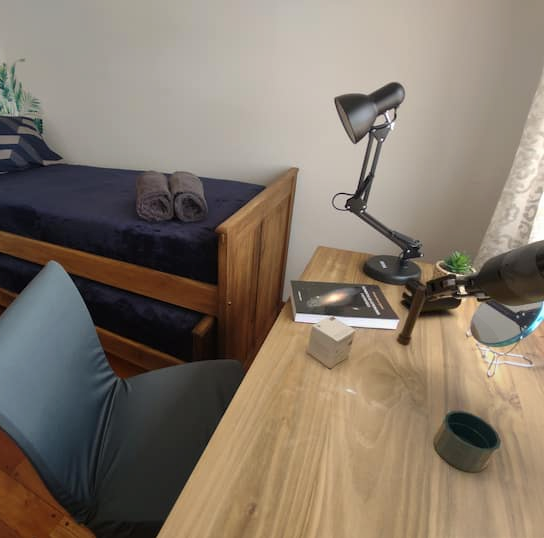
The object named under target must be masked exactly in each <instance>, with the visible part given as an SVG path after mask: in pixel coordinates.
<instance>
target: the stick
mask: <svg viewBox="0 0 544 538" xmlns="http://www.w3.org/2000/svg"><path fill="white" fill-rule="evenodd" d="M426 288H427V287H425V286H419V287H418V289H417V292H416V294H415V297H414V300H413V302H412V305H411V308H410V310H408V313H407V316H406V319H405V321H404V323H403V326H402V330H401V332H400V333H398V336H397V338H396V341H397V343H398V344H400V345H402V346H409V345H410V343H411V341H412V333H413V331H414V328H415V326H416V323H417V320H418V317H419V316H420V313H421V312H420V311H421V308H422V306H423V303H424V300H425V296H424V290H425V289H426Z"/></svg>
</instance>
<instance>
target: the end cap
mask: <svg viewBox="0 0 544 538" xmlns="http://www.w3.org/2000/svg"><path fill="white" fill-rule="evenodd" d="M419 286H425V287H427V286H426V284H424V283H422V282H421V281H420V280H411V281H407V282H406V283H405V286H404V289H406V290H407V291H408V292H409V293H410V294H411V295H409V294H408V293H407V292H406V291H403V292H402V295H401V298H402V299H401V301H400V302H401V305H403V306H404V307H405V308H406V309H407V310H408V311H409V310H410V308H411V305H412V302H413V300H414V297H415V294H416V292H417V289H418V287H419ZM460 293H461V294H462V292H461V291H460ZM462 301H463V299H456V298H453V297H445V298H440V299H437V300H433V301H427V300H426V298H425V300H424V303H423V306H422V308H421V311H420V313H424V312H435V311H436V312H437V311H448V310H455V309H457V308H459V307H460V306H461V304H462Z"/></svg>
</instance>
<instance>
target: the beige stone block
mask: <svg viewBox="0 0 544 538" xmlns="http://www.w3.org/2000/svg"><path fill="white" fill-rule="evenodd" d="M355 334H356V329H354V328H353V327H351V326H350V325H348V324H347V323H344V322H343V321H341V320H339V319H338V318H336V317H335V316H333V315H330V316H328V317H325V318H323V319H321V320H319V321H318V322H316V323H314V324H312V325H311V328H310V335H309V338H308V342H307V343H308V344H307V348H306V352H307V354H309V355H310V356H311V357H313V358H314V359H316V360H317V361H318V362H320V364H323V365H324V366H325V367H327V368H329V369H331V368H333V367H335V366H336V365H337V364H339V363H341V362H342V361H344V360H346V359H348V358H349V355H350V352H351V348H352V344H353V341H354V337H355Z"/></svg>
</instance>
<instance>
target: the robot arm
mask: <svg viewBox="0 0 544 538" xmlns="http://www.w3.org/2000/svg"><path fill="white" fill-rule="evenodd" d="M425 285H426V286H427V288H426V289H425V290H424V296H425V298H426V300H427V301H433V300H437V299H440V298H445V297H453V298H456V299H462V300H464V299H471V298H472V299H473V298H475V299H476V301H477V303H486V302H490V301H495V302H496V303H498V304H499V305H503V306H507V307H521V306H526V305H530V304H537V303H542V302H544V239H541V240H536V241H532V242H530V243H527V244H525V245H522V246H519V247H517V248H514V249H510V250H509V251H506V252H502V253H500V254H498V255H495V256H492V257H490V258H488V259H487V260H486V261H485V262H484V263H483V264H482V266H481V268H480V270H479V271H473V272H471V273H470V274H465V275H457V274H455V273H448V274H446V275H443V276H440V277H439V276H438V277H437V278H433V279H429V280H427V281H425ZM461 288H463V289H464V291H465V293H462V292H461ZM460 292H461V293H460Z"/></svg>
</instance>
